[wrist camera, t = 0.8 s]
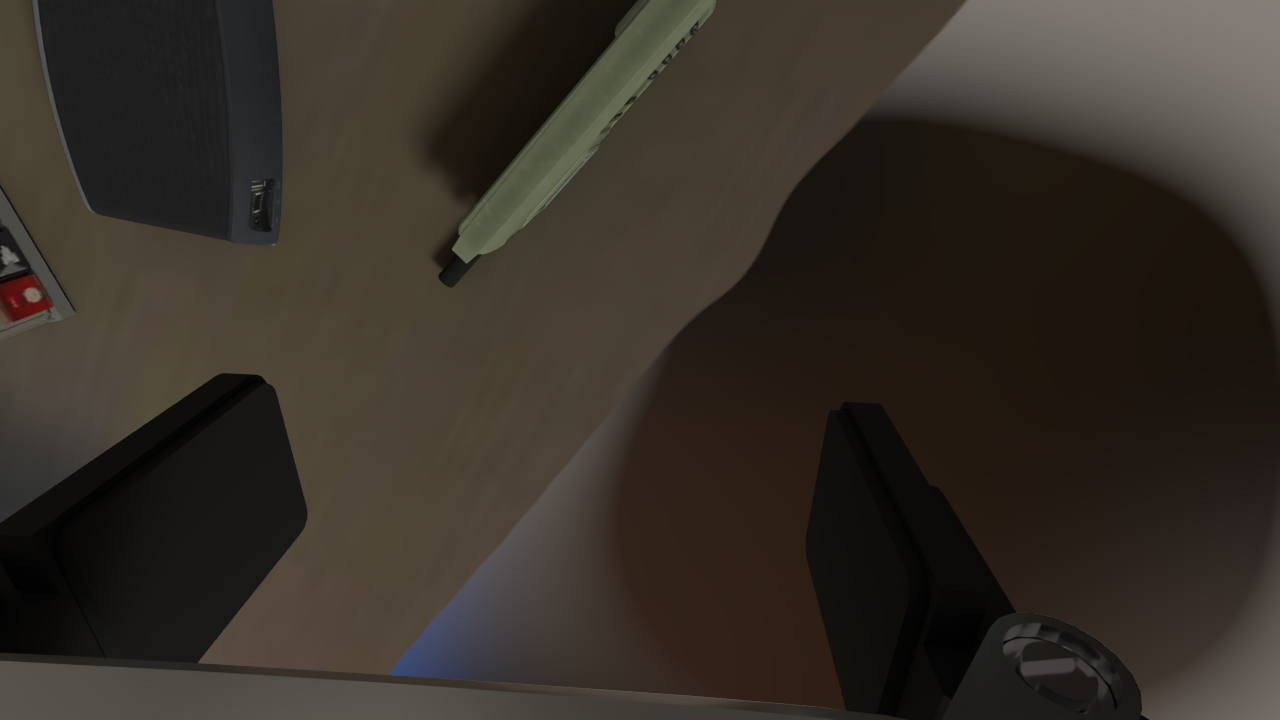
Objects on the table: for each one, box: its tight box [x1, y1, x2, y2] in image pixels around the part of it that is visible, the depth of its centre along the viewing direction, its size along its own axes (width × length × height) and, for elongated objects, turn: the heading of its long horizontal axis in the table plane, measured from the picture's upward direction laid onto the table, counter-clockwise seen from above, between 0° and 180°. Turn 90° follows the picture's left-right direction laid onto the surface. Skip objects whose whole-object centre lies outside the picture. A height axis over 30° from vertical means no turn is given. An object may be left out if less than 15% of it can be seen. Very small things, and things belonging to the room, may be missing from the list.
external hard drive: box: [32, 0, 282, 245], centre depth 38 cm, size 13×19×4 cm
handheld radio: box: [438, 0, 717, 287], centre depth 37 cm, size 7×3×25 cm
